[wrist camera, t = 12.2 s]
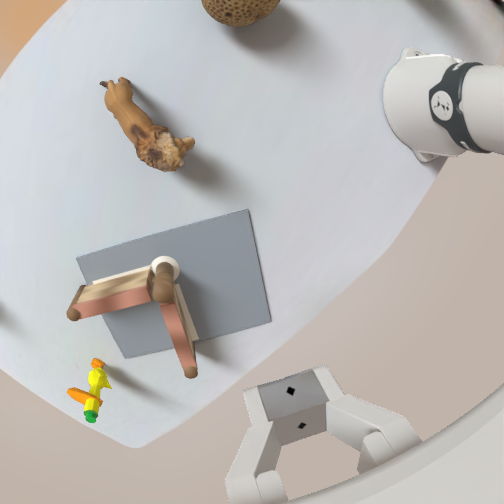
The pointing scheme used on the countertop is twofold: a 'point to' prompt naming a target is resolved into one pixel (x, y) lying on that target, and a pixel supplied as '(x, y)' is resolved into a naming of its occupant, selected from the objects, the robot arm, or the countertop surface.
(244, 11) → the natural sponge
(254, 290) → the board
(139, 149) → the lion figurine
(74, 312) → the fence section
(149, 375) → the countertop surface
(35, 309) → the countertop surface
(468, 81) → the robot arm
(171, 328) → the fence panel
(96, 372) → the toy figure
